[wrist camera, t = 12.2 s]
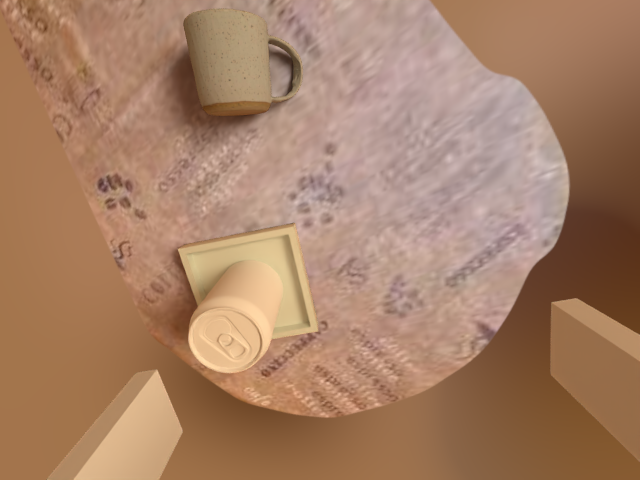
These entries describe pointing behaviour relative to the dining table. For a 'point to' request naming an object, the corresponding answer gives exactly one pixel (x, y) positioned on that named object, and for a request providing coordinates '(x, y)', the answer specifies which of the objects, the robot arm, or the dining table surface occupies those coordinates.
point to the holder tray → (265, 246)
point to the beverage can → (236, 318)
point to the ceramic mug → (234, 61)
